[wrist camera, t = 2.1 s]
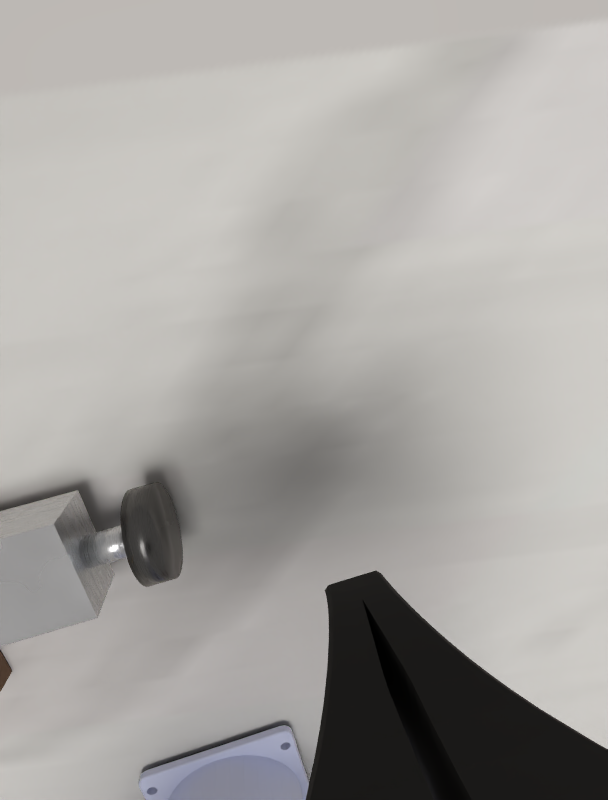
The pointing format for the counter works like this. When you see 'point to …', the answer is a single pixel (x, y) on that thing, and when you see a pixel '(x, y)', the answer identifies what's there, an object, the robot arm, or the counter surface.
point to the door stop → (79, 558)
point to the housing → (4, 671)
